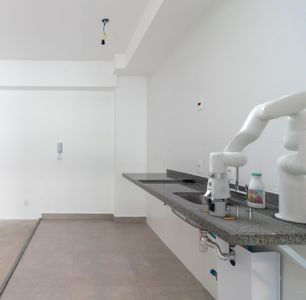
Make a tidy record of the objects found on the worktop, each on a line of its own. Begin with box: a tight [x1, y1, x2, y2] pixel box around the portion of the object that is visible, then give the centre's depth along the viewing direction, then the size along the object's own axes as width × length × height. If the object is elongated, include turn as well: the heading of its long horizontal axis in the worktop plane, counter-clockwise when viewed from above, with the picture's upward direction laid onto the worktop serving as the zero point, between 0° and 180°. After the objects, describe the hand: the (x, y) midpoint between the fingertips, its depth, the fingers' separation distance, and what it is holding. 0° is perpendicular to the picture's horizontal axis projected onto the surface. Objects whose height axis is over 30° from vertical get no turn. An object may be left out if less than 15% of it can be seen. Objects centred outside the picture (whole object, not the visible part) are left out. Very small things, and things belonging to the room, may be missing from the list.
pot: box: [209, 199, 227, 218], centre depth 107 cm, size 7×7×7 cm
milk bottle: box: [247, 172, 266, 209], centre depth 122 cm, size 8×8×20 cm
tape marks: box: [201, 209, 236, 220], centre depth 107 cm, size 6×14×1 cm, turn 13°
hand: (217, 210), depth 107 cm, fingers closed on pot, 6 cm apart
